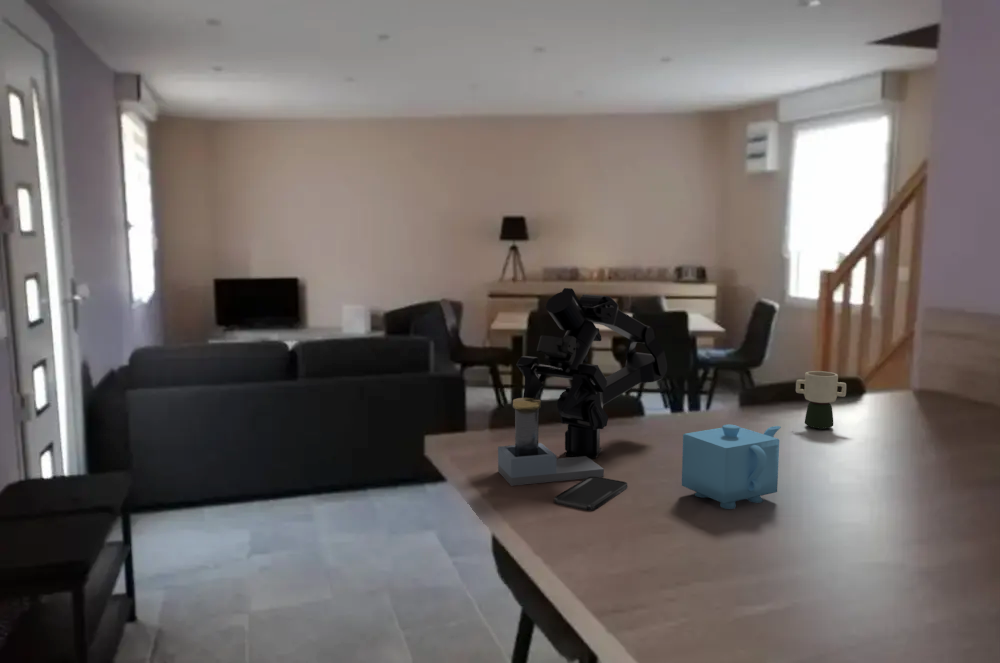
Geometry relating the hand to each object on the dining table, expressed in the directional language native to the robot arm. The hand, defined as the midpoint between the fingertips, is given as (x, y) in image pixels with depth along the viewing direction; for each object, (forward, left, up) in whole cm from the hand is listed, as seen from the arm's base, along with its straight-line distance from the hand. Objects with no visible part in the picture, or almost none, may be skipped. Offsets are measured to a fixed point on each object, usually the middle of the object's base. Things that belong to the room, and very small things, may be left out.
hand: (542, 408), depth 149 cm
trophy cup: (-53, -51, -13) cm, 75 cm away
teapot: (-37, +3, -13) cm, 39 cm away
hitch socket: (-2, +2, -12) cm, 13 cm away
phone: (-12, +11, -13) cm, 21 cm away
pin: (+2, +5, -11) cm, 12 cm away
